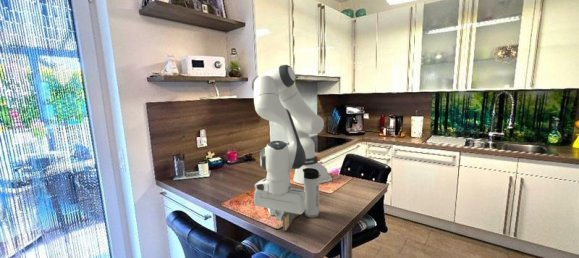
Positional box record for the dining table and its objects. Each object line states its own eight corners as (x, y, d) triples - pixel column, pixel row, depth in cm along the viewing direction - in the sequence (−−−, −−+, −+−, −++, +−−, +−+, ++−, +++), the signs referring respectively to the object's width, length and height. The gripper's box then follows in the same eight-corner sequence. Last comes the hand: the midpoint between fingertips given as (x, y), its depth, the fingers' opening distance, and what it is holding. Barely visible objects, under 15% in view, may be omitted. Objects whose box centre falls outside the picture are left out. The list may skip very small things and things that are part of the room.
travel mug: (302, 211, 108) (301, 167, 104) (317, 210, 108) (317, 166, 105) (304, 218, 102) (303, 171, 98) (320, 217, 102) (320, 170, 99)
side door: (296, 211, 107) (295, 198, 106) (299, 211, 106) (298, 198, 106) (282, 230, 92) (282, 215, 92) (286, 231, 92) (285, 216, 91)
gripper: (307, 185, 90) (308, 221, 92) (259, 178, 99) (261, 211, 101) (301, 192, 85) (302, 229, 87) (250, 184, 93) (252, 218, 95)
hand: (279, 219), depth 94 cm, fingers closed
